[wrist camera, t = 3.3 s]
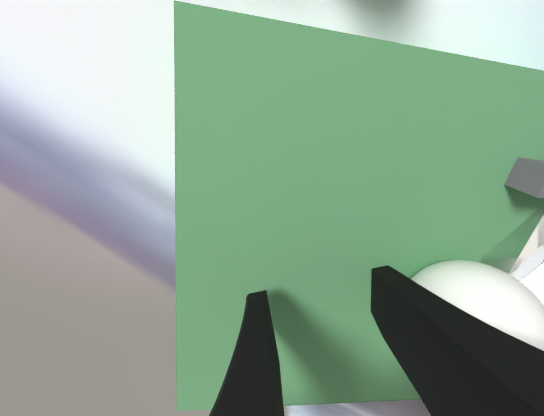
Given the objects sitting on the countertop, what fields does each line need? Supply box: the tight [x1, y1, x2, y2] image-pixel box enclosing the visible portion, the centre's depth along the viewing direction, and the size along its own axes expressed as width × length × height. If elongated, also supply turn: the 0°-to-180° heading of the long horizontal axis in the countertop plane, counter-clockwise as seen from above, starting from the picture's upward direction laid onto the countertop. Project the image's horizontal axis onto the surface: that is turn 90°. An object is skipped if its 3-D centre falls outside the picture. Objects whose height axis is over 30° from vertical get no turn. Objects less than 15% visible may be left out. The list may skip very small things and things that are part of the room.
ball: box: [411, 260, 544, 351], centre depth 10 cm, size 4×4×4 cm
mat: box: [174, 1, 544, 411], centre depth 13 cm, size 24×16×4 cm, turn 82°
